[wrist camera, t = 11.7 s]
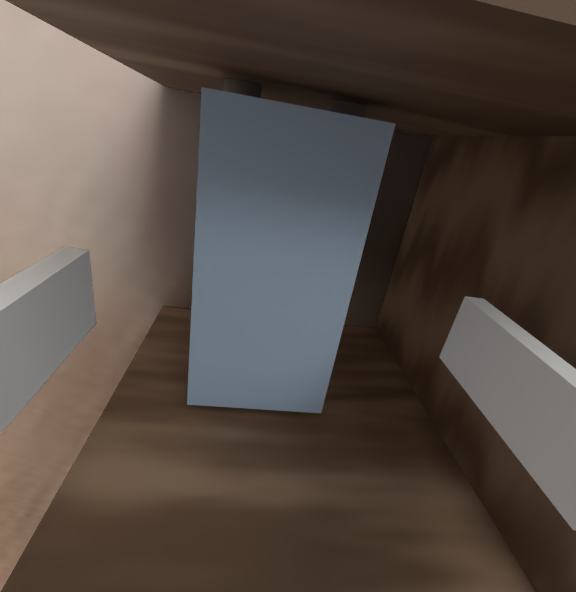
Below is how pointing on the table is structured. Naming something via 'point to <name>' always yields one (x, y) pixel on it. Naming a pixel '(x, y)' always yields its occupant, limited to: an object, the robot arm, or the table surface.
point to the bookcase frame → (354, 340)
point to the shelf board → (276, 247)
